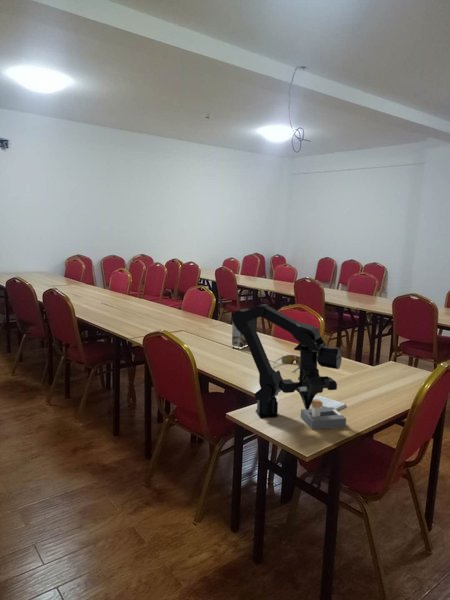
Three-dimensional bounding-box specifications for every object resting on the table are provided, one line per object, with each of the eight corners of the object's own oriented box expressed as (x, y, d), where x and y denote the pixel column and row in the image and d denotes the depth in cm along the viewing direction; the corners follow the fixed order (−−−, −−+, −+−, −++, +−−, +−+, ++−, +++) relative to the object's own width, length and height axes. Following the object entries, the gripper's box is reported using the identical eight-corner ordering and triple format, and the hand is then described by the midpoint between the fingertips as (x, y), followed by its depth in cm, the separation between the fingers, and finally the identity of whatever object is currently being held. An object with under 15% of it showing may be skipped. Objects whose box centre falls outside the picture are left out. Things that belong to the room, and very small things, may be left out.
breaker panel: (311, 429, 143) (312, 420, 142) (300, 417, 152) (301, 408, 152) (345, 427, 145) (346, 417, 145) (332, 415, 155) (332, 406, 154)
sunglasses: (308, 366, 217) (308, 356, 216) (296, 377, 205) (295, 367, 204) (283, 361, 225) (282, 352, 224) (269, 372, 213) (269, 362, 212)
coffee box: (241, 349, 247) (241, 322, 245) (231, 348, 251) (231, 320, 249) (248, 346, 255) (249, 319, 253) (239, 345, 258) (239, 318, 256)
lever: (313, 421, 146) (314, 403, 145) (310, 417, 149) (310, 399, 148) (321, 420, 147) (322, 402, 146) (317, 416, 150) (318, 399, 149)
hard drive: (306, 400, 167) (334, 408, 158) (318, 394, 172) (346, 403, 164) (306, 404, 167) (334, 413, 158) (318, 398, 173) (346, 407, 164)
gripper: (289, 372, 135) (288, 420, 137) (345, 369, 139) (343, 416, 141) (278, 363, 146) (277, 407, 148) (330, 360, 149) (328, 404, 151)
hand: (306, 409), depth 147 cm, fingers closed
